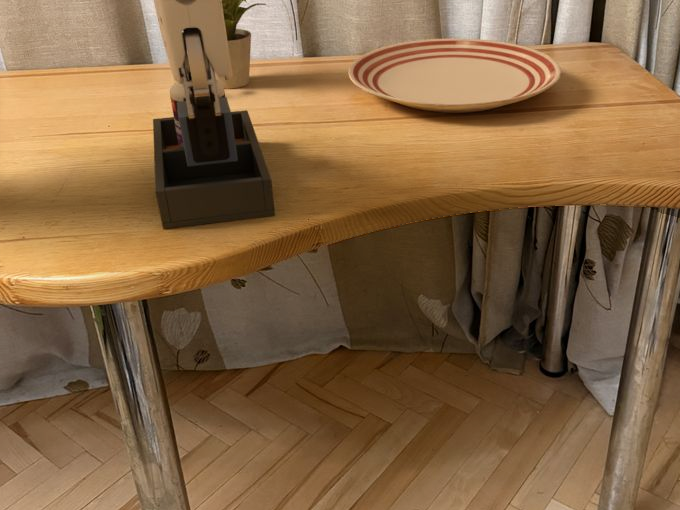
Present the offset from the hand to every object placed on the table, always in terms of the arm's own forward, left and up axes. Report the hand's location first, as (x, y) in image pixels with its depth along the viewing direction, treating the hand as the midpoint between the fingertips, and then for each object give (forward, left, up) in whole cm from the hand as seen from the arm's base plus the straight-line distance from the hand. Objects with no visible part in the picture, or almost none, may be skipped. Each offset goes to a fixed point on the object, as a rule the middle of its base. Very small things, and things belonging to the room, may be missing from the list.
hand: (209, 147), depth 68 cm
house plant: (+5, +39, -5) cm, 39 cm away
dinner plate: (+33, +26, -5) cm, 42 cm away
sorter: (0, +5, -5) cm, 7 cm away
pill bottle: (0, +9, -5) cm, 10 cm away
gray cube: (0, 0, -1) cm, 1 cm away
